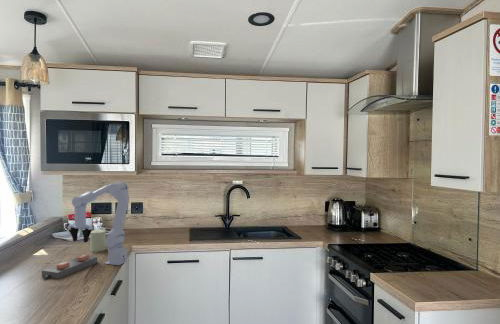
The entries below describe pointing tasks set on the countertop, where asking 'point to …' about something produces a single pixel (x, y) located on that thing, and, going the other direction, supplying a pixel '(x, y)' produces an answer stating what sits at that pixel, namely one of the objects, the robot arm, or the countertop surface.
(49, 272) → the power strip
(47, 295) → the countertop surface
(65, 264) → the switch
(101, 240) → the can
